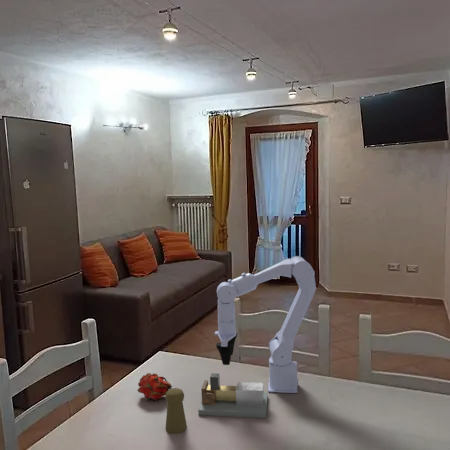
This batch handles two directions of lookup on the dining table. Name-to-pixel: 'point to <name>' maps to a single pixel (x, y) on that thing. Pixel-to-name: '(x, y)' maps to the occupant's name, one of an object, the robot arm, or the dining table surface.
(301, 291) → the robot arm
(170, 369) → the dining table surface
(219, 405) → the slate board
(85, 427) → the dining table surface
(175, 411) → the olive green pawn
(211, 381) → the brushed brass bar
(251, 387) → the aluminium sleeve
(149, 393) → the dragon fruit
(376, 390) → the dining table surface
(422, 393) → the dining table surface
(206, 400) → the walnut socket
